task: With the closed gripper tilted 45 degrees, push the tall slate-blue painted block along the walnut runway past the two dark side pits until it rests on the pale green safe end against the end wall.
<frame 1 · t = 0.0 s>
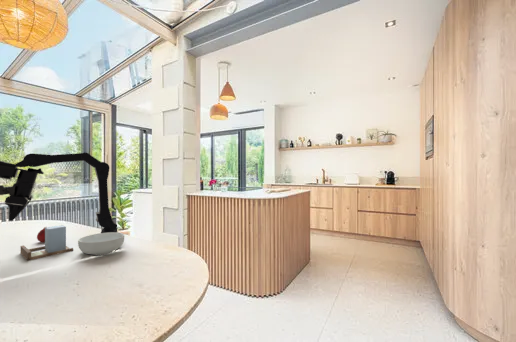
hand: (12, 218, 101), 15 cm above the table, tool pointing down, fingers open, 9 cm apart
onion: (45, 243, 117), on the table
cereal bowl: (102, 253, 105), on the table
blue block: (55, 250, 105), point 1 cm above the table, touching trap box
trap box: (48, 253, 103), on the table
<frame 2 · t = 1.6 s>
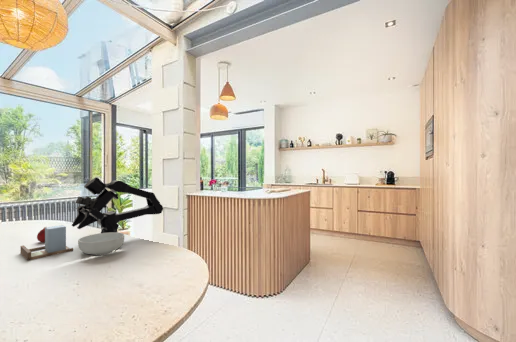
hand: (75, 227, 111), 9 cm above the table, tool tilted 45°, fingers open, 7 cm apart
nothing on the table moved.
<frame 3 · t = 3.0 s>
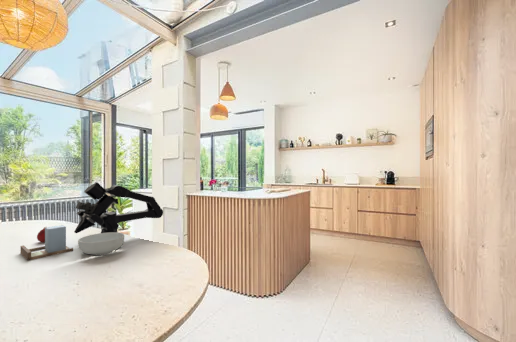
hand: (75, 232, 111), 7 cm above the table, tool tilted 45°, fingers closed
nothing on the table moved.
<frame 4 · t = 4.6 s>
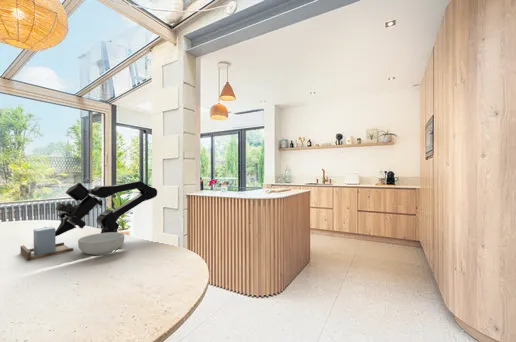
hand: (54, 235, 105), 7 cm above the table, tool tilted 45°, fingers closed, pressing on blue block
blue block: (44, 252, 102), point 1 cm above the table, touching gripper
everything else where it was.
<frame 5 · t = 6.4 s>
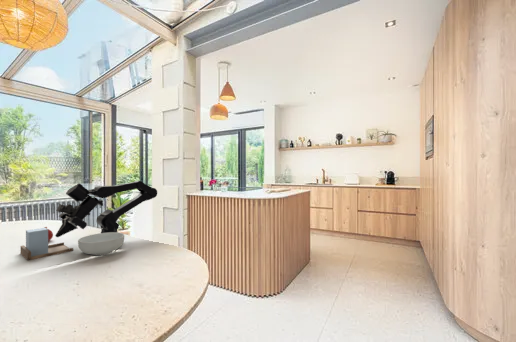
hand: (56, 236, 105), 7 cm above the table, tool tilted 45°, fingers closed
blue block: (37, 253, 100), point 1 cm above the table, touching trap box
everything else where it was.
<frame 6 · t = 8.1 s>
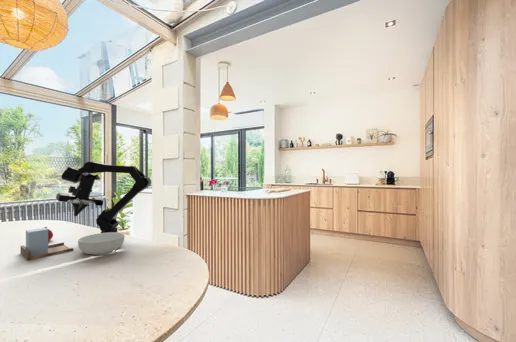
hand: (75, 216, 119), 13 cm above the table, tool tilted 20°, fingers closed
nothing on the table moved.
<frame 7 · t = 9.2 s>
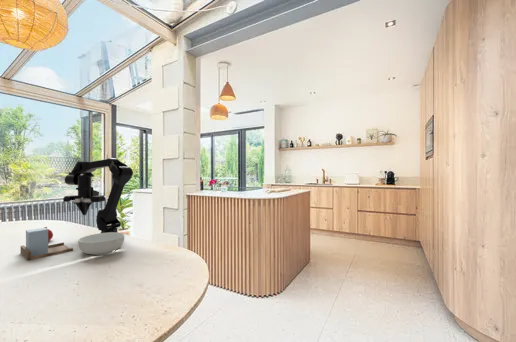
hand: (84, 215, 127), 12 cm above the table, tool pointing down, fingers closed
nothing on the table moved.
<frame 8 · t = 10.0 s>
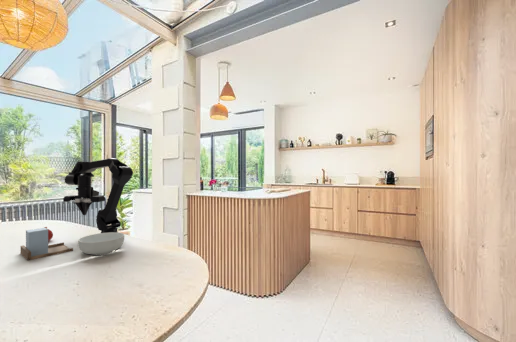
hand: (84, 215, 127), 12 cm above the table, tool pointing down, fingers closed
nothing on the table moved.
at the end: blue block 0.1 cm from the target spot on the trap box, point 1.0 cm above the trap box's base; blue block tilted 0° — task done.
